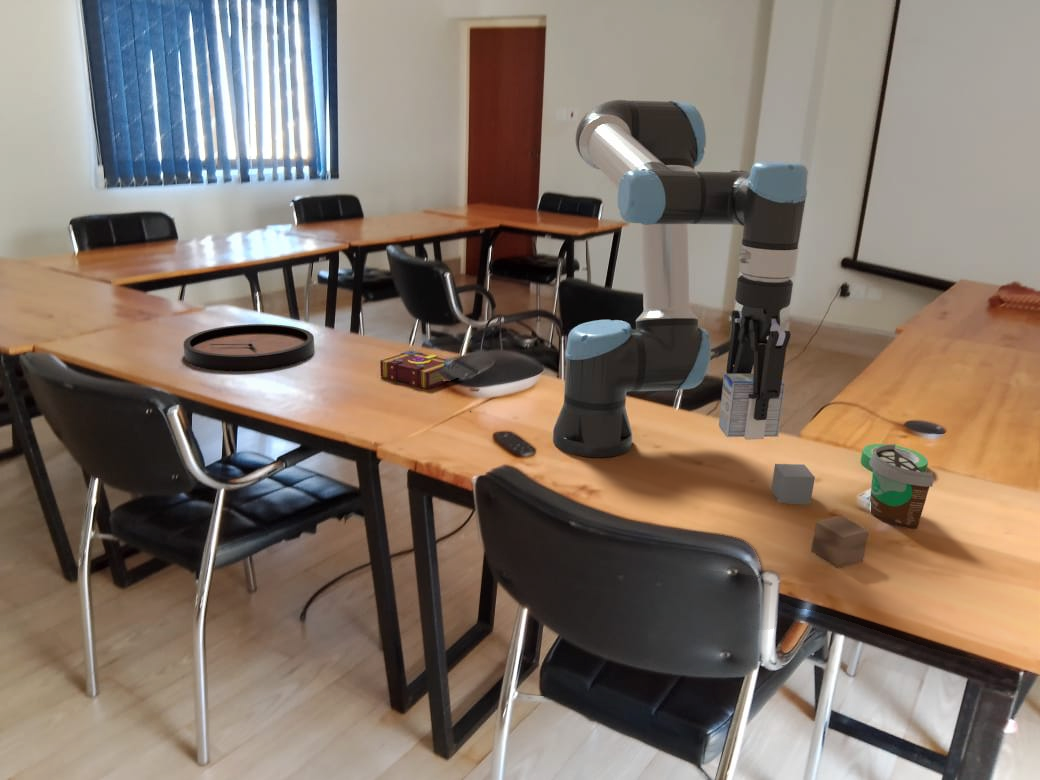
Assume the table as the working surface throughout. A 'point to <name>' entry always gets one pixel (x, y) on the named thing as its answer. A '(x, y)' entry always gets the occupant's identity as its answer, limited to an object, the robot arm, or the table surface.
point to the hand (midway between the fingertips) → (745, 431)
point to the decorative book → (414, 369)
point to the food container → (897, 488)
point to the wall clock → (249, 347)
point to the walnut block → (839, 541)
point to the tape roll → (905, 452)
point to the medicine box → (745, 406)
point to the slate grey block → (792, 483)
